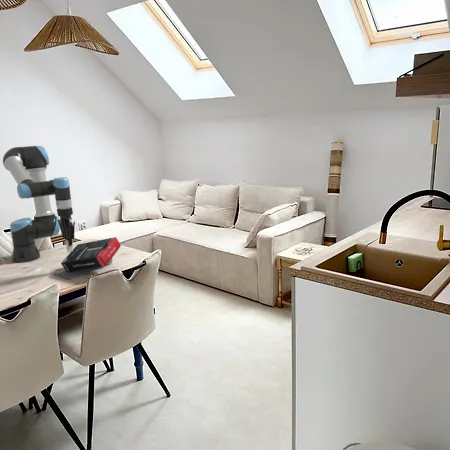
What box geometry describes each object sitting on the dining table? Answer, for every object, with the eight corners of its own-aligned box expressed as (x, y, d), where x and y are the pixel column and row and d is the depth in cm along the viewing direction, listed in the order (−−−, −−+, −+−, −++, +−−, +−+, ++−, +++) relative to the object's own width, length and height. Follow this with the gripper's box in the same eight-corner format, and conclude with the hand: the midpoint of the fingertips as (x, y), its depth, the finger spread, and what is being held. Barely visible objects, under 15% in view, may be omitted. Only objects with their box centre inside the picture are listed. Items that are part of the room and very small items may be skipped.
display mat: (54, 274, 219) (54, 274, 219) (89, 263, 235) (89, 263, 235) (67, 279, 211) (67, 279, 211) (103, 267, 227) (103, 267, 227)
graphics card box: (66, 273, 221) (107, 267, 210) (59, 263, 218) (100, 256, 207) (82, 253, 234) (122, 246, 224) (76, 243, 231) (116, 235, 220)
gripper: (51, 207, 220) (57, 251, 225) (64, 210, 212) (70, 255, 217) (64, 205, 225) (69, 247, 231) (78, 207, 217) (83, 251, 223)
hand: (70, 251), depth 224 cm, fingers closed
